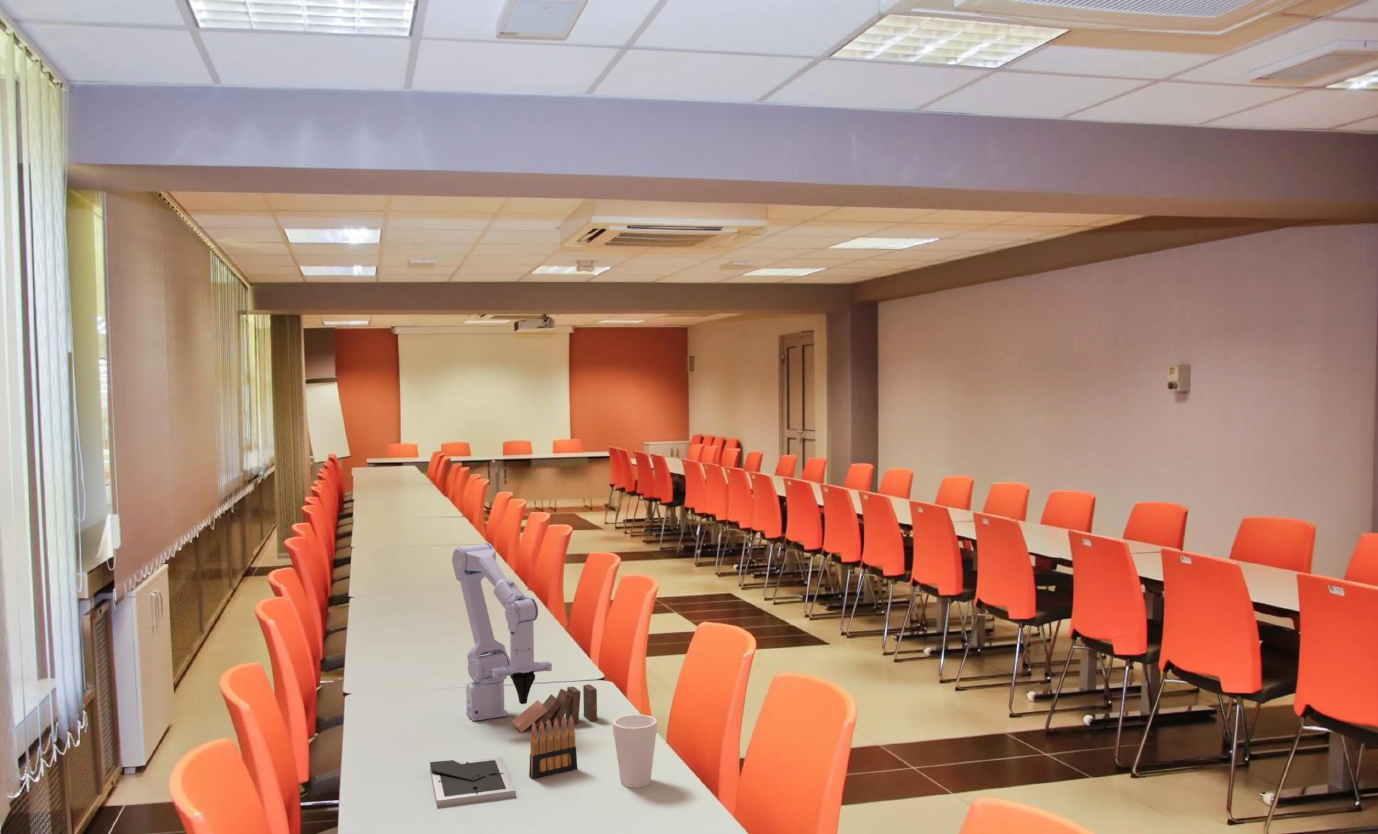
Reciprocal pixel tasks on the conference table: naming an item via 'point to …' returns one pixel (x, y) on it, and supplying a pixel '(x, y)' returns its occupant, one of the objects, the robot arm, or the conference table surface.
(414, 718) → the conference table surface
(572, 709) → the tile
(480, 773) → the picture frame
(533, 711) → the tile
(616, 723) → the foam cup
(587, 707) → the brown flat block
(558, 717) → the tile
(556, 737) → the ammunition clip
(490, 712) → the robot arm
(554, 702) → the brown rectangular block
